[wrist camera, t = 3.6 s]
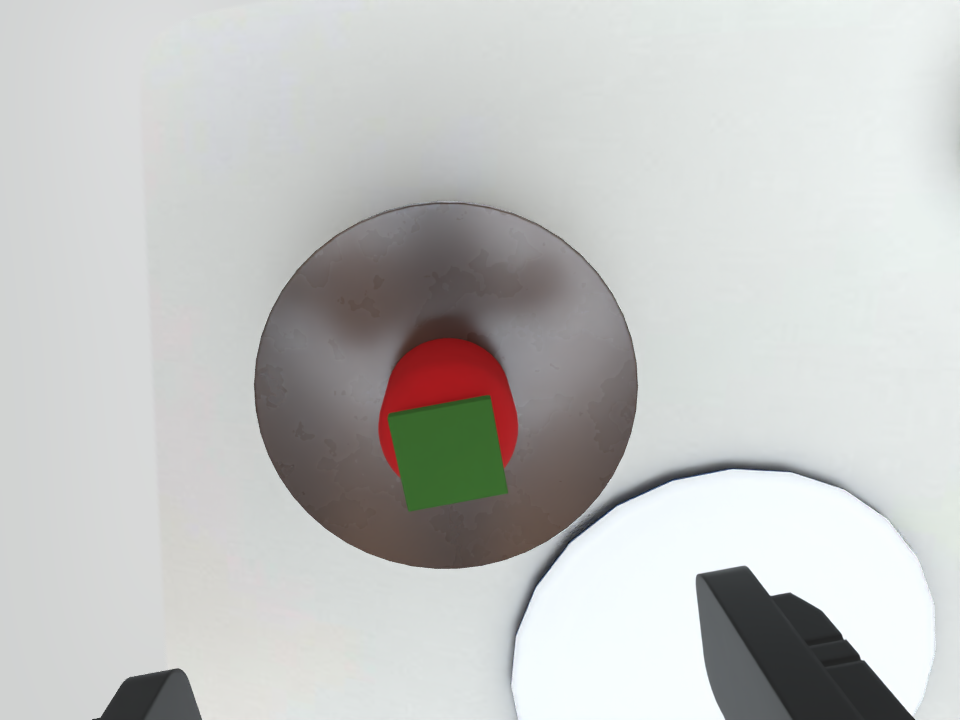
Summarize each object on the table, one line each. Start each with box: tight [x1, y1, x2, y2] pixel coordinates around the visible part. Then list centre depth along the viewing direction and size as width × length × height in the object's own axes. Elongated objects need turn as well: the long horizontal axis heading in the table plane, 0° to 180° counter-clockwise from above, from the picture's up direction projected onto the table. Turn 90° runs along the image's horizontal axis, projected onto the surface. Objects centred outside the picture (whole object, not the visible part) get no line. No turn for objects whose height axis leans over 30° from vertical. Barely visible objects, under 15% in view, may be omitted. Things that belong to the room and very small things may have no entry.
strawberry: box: [378, 338, 518, 512], centre depth 22 cm, size 4×4×5 cm
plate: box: [511, 468, 936, 720], centre depth 42 cm, size 25×25×1 cm
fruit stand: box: [254, 201, 638, 569], centre depth 31 cm, size 13×13×13 cm
